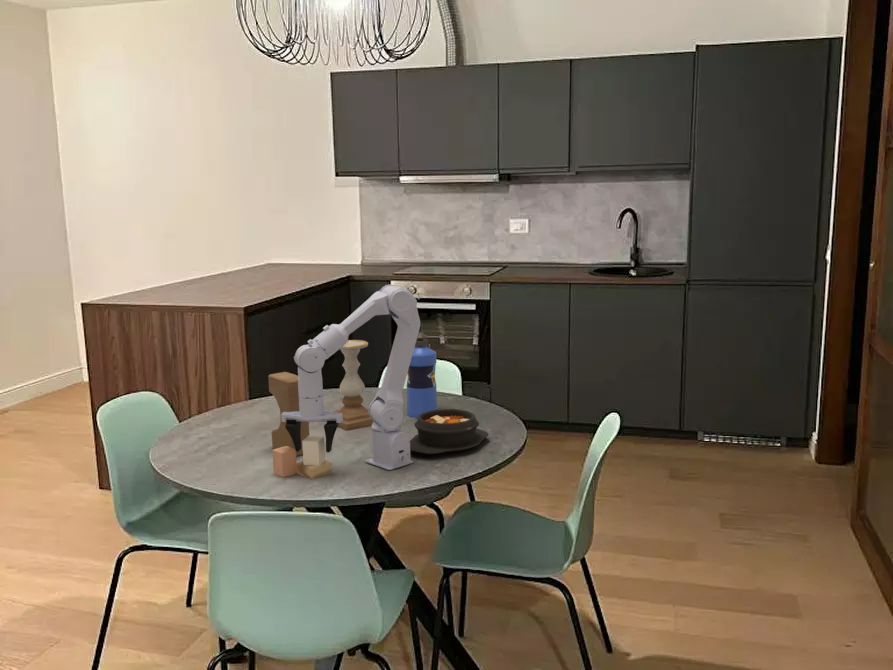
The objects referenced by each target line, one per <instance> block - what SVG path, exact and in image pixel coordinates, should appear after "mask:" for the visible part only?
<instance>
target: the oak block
mask: <svg viewBox="0 0 893 670" xmlns="http://www.w3.org/2000/svg"><path fill="white" fill-rule="evenodd" d="M296 474H298V475H300V476H303V477H305V478H308V479H310V480H313V479H317V478H320V477H323V476H327V475H330V474H333V462H332V461H329V460H327V459H325V461H324V462H323V463H322V464H321V465H320V466H313V465H304V463H303V460H302V461H299V462H297V473H296Z"/></svg>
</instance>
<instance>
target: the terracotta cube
mask: <svg viewBox="0 0 893 670" xmlns="http://www.w3.org/2000/svg"><path fill="white" fill-rule="evenodd" d="M297 463H298V462H297V456H296V450H295V449H293V448H291V447H288V446H284V447H281V448H277V449H275V448H273V449H272V467H273V474H274V475H276V476H278V477H281V478H286V477H288V476H289V477H290V476H293V475H296V474H297Z"/></svg>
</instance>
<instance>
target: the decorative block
mask: <svg viewBox="0 0 893 670" xmlns="http://www.w3.org/2000/svg"><path fill="white" fill-rule="evenodd" d="M267 377H268V378H267V379H268V392H269V393H270V394H272V395H273V396H274V399H275V400H276V402H277V405H278V408H279V413H280V415H279V416H281V414H282V413H283V412H296V411H300V410H299V392H298V374H297V375H296V374H294V373H290V372H289V371H288V372H287V371H283V372H276V373H271V374H269V375H268V376H267ZM285 425H286V422H282V418H281V417H280V422H279V426H278V428H277V429H272V431H271V443H272V444H271V445H272V446H271V447H272V448H273V449H277V448H281V447H284V446H288V447H291V448H293V449H295V446H294V443H293V440H292V438H291V436H290V434H289V432H288V431H287V429H286V428H285ZM300 436H301V450H300V451H299V452H298V451H296V457H298V456H303V446H302V441H303V440H304V439H305V438H306V437H308V436H310V422H306V421H301V431H300Z"/></svg>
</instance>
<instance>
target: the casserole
mask: <svg viewBox="0 0 893 670" xmlns="http://www.w3.org/2000/svg"><path fill="white" fill-rule="evenodd" d="M416 419H417V420H416V421H415V422H414V427H415V428H416V430H417V434H416V435H414V436H413V437H412V438H411V439H410V452H413V453H419V454H423V455H424V454H425V455H436V454H441V453H443V454H447V453H448V454H449V453H457V452H462V451H465V450H469V449H472V448H474V447H476V446H478V445H480V444H481V443H482V441H483V440H484V439H486V438H487V437H488V436H489V433H488V432H487V431H486V430H483V429H480V428H478V427H479V424H480V423H479V421H478V420H477V418H476V415H475V414H474V413H473V412H471V411H468V410H464V409H456V408H439V409H438V408H437V410H431V411H427V412H424V413H422V414H420V415H419V416H418V418H416Z"/></svg>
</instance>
